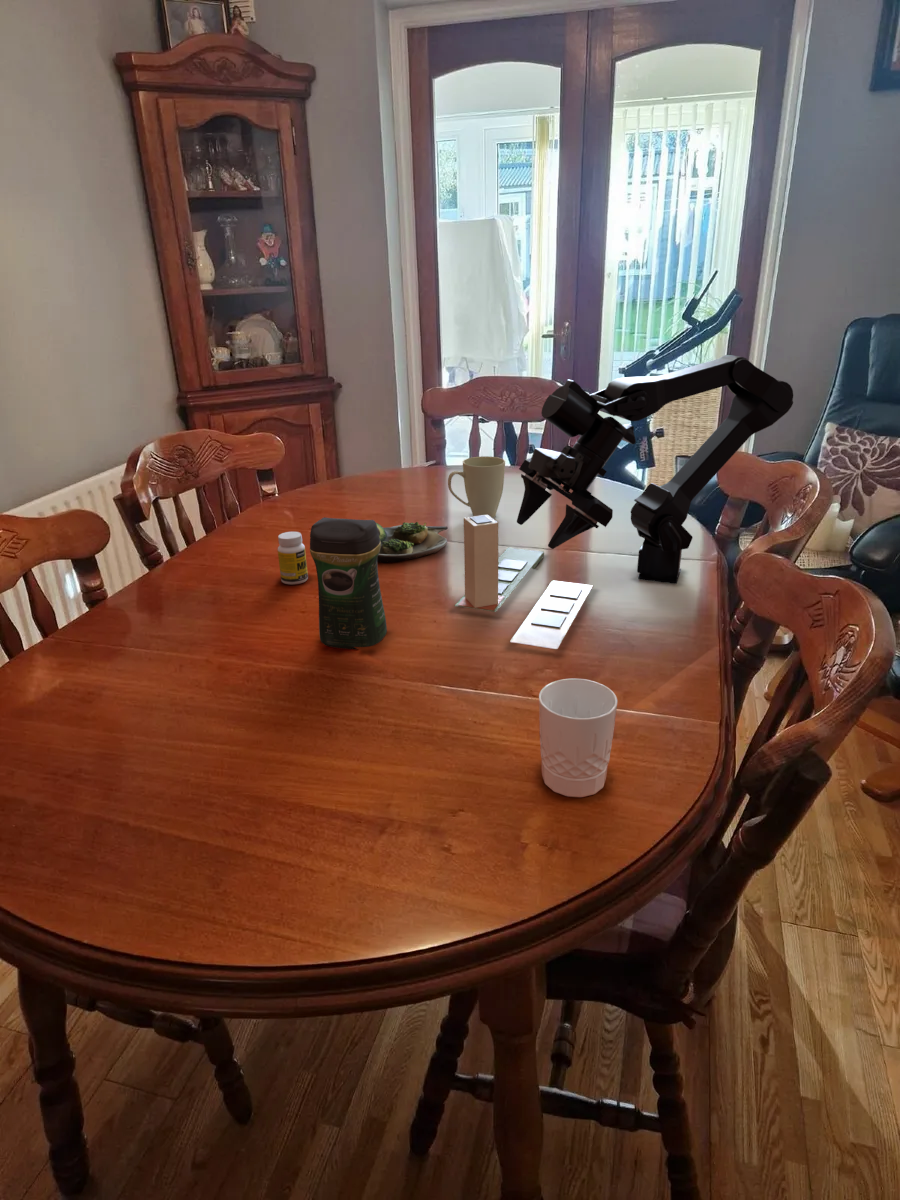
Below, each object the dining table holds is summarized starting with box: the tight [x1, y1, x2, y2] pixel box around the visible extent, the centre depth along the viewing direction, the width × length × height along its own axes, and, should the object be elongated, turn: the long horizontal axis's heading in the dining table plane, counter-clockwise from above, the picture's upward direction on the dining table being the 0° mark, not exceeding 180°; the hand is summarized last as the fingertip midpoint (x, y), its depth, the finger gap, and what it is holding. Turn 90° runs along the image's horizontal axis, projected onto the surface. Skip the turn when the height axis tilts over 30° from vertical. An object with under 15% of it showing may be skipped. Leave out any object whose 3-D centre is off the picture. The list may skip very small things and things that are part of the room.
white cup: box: [538, 678, 619, 798], centre depth 79 cm, size 8×8×10 cm
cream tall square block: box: [463, 515, 499, 608], centre depth 118 cm, size 4×4×14 cm
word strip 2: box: [509, 579, 594, 651], centre depth 117 cm, size 24×7×1 cm, turn 158°
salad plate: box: [376, 521, 449, 564], centre depth 147 cm, size 19×18×5 cm
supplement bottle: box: [277, 531, 309, 586], centre depth 131 cm, size 5×5×8 cm
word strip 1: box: [454, 546, 545, 613], centre depth 130 cm, size 28×7×1 cm, turn 158°
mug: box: [447, 455, 506, 519], centre depth 161 cm, size 11×10×12 cm
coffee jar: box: [309, 516, 388, 651], centre depth 108 cm, size 10×8×19 cm
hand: (534, 535), depth 121 cm, fingers open, 9 cm apart
